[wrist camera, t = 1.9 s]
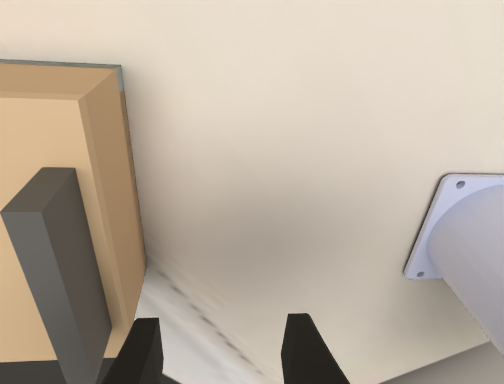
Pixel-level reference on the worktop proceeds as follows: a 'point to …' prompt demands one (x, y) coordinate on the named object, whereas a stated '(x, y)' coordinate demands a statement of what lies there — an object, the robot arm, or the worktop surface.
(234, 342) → the worktop surface
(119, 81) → the box
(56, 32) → the worktop surface
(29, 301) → the lid
